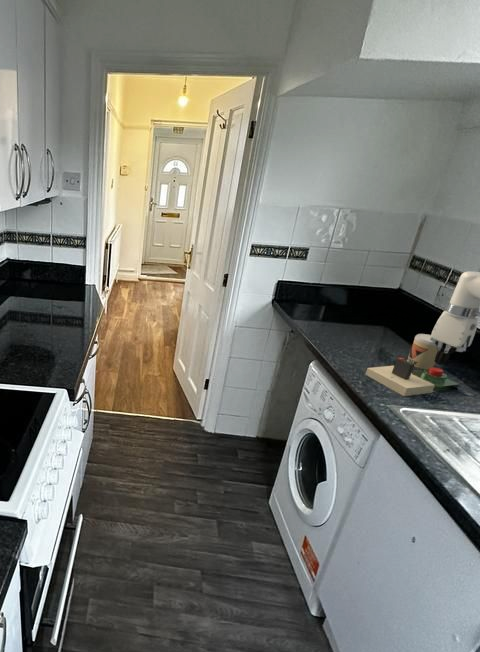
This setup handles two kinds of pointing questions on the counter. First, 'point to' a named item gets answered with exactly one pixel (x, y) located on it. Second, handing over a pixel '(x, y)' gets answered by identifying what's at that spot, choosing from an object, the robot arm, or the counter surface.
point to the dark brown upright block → (403, 368)
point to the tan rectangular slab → (400, 381)
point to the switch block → (436, 380)
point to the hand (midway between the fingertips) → (439, 362)
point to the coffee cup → (423, 352)
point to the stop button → (436, 371)
